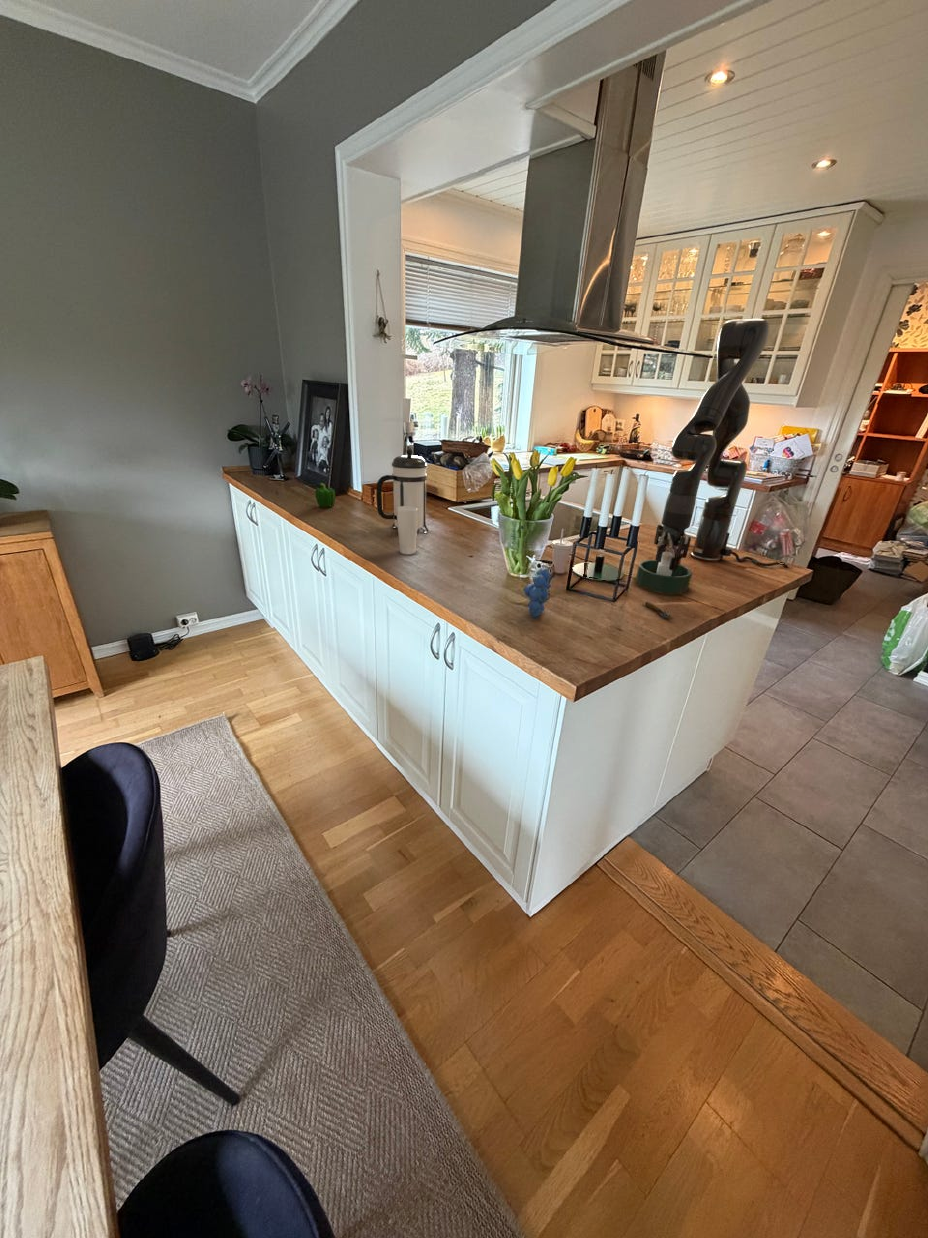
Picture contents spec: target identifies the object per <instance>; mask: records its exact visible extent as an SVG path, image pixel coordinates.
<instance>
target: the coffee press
mask: <svg viewBox="0 0 928 1238" xmlns="http://www.w3.org/2000/svg"><path fill="white" fill-rule="evenodd" d="M405 453H406V455H405V454H404V455H398V456H396V457H394V459H393V461H392V462H391V467H392V473H391V474H385V475H382V476H381V477H379V479H378V480H377V482H376V487H375V488H376V489H375V490H376V491H375V494H376V497H375V498H376V509H377V510H376V511H377V512H378V515H379V516H380V517H381V518H382V519H385V520H394V521H393V523H392V528H393V529H396V528H397V529H398V525H397V508H398V507H401V506H413V507H416V508H417V509H418V525H417V531H418V530H421V531H422V533H424V534H426V533H428V532H429V528H428V527H427V514H426V513H427V478H428V476H427V472H430V467H428V463H427V462H426V460H425V459H424V458H423V456H418V455H412V454H413V450H412V449H411V448H407V449H406V451H405ZM386 481H392V486H393V513H392V514H387V513H385V512H384V511H383V492H382V487H383V485H384V483H385V482H386Z"/></svg>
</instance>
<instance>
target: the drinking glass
mask: <svg viewBox="0 0 928 1238" xmlns="http://www.w3.org/2000/svg"><path fill="white" fill-rule="evenodd" d="M397 525H398V528H397V533H398V543H399V552H400V554H403V555H407V556H408V555H414V554H415V553H416V551H417V535H418V534H417V533H418V530H417V525H418V509H417V508H416V507H413V506H401V507H398V508H397Z"/></svg>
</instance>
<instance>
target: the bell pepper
mask: <svg viewBox="0 0 928 1238" xmlns="http://www.w3.org/2000/svg"><path fill="white" fill-rule="evenodd" d="M319 486H321V487H317V488H315V492H314V493H315V499H316V502H317V505H318V506H319V507H321V508H322V509H323V508H324V509H328V508H330V507H334V506H335V502H336V491H335V489H334V488H332V487H327V488H326V484H325V483H322V482H321V483H319ZM330 505H331V506H330Z"/></svg>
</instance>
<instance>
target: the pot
mask: <svg viewBox="0 0 928 1238" xmlns="http://www.w3.org/2000/svg"><path fill="white" fill-rule="evenodd" d="M659 562H661V561H656V560H655V559H647V560H642V561H640V562H639V563H638V566H637V571H636V576H635V582H636V583H637V584H638V585H639V586H640V587H642V588H644V589H646V590H649V591H652V592H657V593H662V594H671V595H672V594H682V593H685V592H687V590H688V589H689V586H690V584H691V583H690V582H691V579H692V575H693V572H692V570H691V568H689V567H687V566H685V565H683V564H681V563H680V564H679V565H678V568H677V570H672V574H671V576H665V575H660V574H656V572H657V568H658V564H659Z"/></svg>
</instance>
